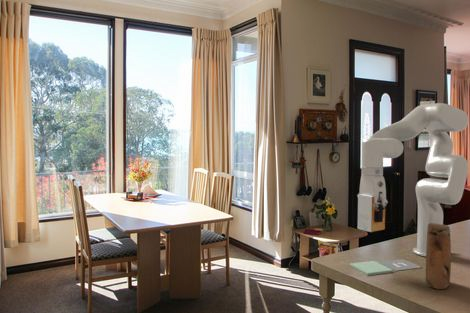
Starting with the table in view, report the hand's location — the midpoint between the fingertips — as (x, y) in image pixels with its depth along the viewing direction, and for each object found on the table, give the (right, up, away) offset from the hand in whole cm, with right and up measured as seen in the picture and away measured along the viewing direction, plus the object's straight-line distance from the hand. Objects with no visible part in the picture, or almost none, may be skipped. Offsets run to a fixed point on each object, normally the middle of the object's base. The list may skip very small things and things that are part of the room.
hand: (371, 219), depth 145 cm
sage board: (0, -19, +1) cm, 19 cm away
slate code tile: (+13, -18, +5) cm, 23 cm away
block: (+17, -20, -15) cm, 30 cm away
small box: (0, -4, 0) cm, 4 cm away
